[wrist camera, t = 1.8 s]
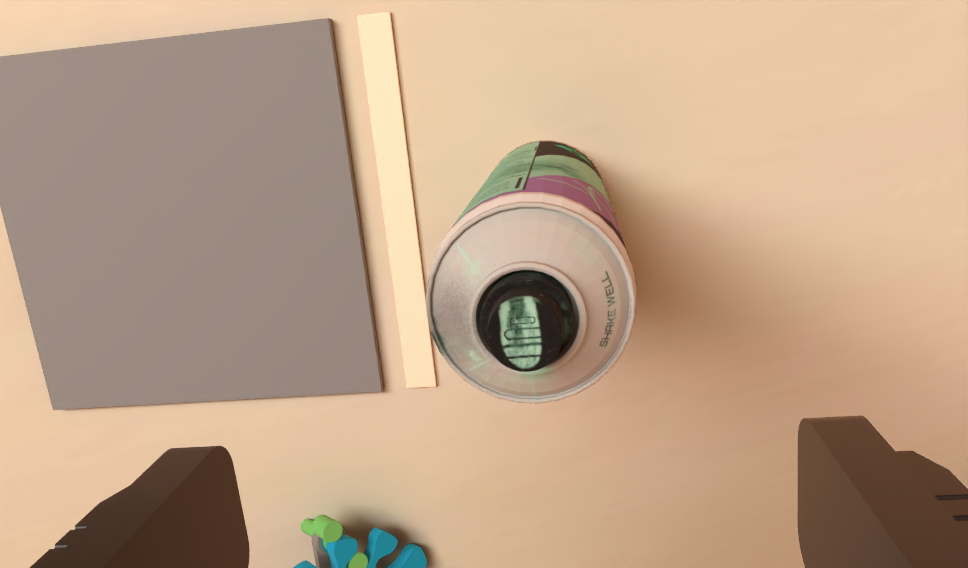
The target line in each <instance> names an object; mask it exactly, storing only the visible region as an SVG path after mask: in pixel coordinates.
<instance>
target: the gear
mask: <svg viewBox="0 0 968 568" xmlns="http://www.w3.org/2000/svg"><path fill="white" fill-rule="evenodd" d="M301 530H302V531H303V532H305V533H306V534H308V535H310V536H311V537H312V545H313V551H314V556H315V562H316V566H314V565H313V564H311V563H310V562H308V561H303V562H301V563H299V564H298V565H296V566H295V567H294V568H316V567H317V568H376V564H377V562H378V560H379V559H380V558H382V557H384V556H386V555H388V554H390V553H392V552H393V551H394V549H395V548H396V546H397V542H398V540H397V539H396V538H395V537H394V536H393V535H391V534H389V533H387V532H385V531H383V530H381V529H379V528H376V527H375V528H373V529H372V530H371V532H370V534H369V536H368V543H367V548H366V551H365V553H364V554H363V553H361V552H359V551H358V550H357V547H358V544H357V540H356V539H354V538H352V537H350V536H348V535H347V534H346V531H345V529H344V528H343V527H342V525H341V524H340V523H339V522H337V521H336V520H334V519H332V518H330V517H328V516H326V515H320V516H318V517H316V518H315V520H314V521H313V520H311V519H305V520H304V521H303V522H302V524H301ZM426 565H427V560H426V556H425V554H424V552H423V551H422V549H421V547H419V546H417V545H415V544H413V543H410V544H408V545H406V546H405V547H404V548H403V549H402V551H401V553H400V555H399V556H398V557H397V559H396V560H395V561H394V562H393V563H392V564H390V565H389V566H388V567H386V568H425V567H426Z"/></svg>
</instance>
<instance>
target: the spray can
mask: <svg viewBox="0 0 968 568" xmlns="http://www.w3.org/2000/svg"><path fill="white" fill-rule="evenodd" d="M636 296H637V288H636V282H635V276H634V270H633V267H632V264H631V261H630V259H629V256H628V253H627V250H626V247H625V244H624V242H623V239H622V236H621V233H620V230H619V228H618V225H617V222H616V219H615V216H614V213H613V211H612V208H611V205H610V202H609V199H608V196H607V194H606V191H605V188H604V185H603V182H602V180H601V177H600V175H599V172H598V171H597V169H596V168H595V166H594V165H593V163H592V162H591V161H590V160H589V159H588V158H587V157H586V156H585V155H584V154H583V153H582V152H580V151H579V150H577V149H576V148H574V147H572V146H570V145H567V144H565V143H562V142H557V141H535V142H530V143H527V144H525V145H523V146H520V147H518V148H516V149H515V150H513V151H512V152H510V153H509V154H507V155H506V156H505V157H504V158H503V159H502V160H501V161H500V163H499V164H498V165H497V167H496V168H495V169H494V171H493V172H492V173H491V175H490V176H489V178H488V179H487V180H486V182H485V183H484V184H483V186H482V187H481V188H480V190H479V191H478V193H477V194H476V195H475V197H474V198H473V199H472V201H471V202H470V204H469V205H468V206H467V208H466V209H465V210H464V212H463V213H462V214H461V216H460V217H459V219H458V220H457V221H456V223H455V224H454V225H453V227H452V228H451V229H450V231H449V232H448V234H447V235H446V237H445V238H444V240H443V241H442V243H441V245H440V246H439V248H438V250H437V252H436V255H435V257H434V260H433V262H432V265H431V268H430V273H429V279H428V285H427V292H426V310H427V318H428V322H429V326H430V331H431V334H432V336H433V338H434V341H435V343H436V345H437V347H438V349H439V351H440V353H441V354H442V356H443V357H444V358H445V360H446V361H447V363H448V364H449V365H450V367H451V368H452V369H453V370H454V371H456V372H457V373H458V374H459V375H460V376H461V377H462V378H463V379H464V380H465V381H467V382H468V383H470V384H471V385H473V386H474V387H476V388H477V389H479V390H480V391H482V392H485V393H487V394H490V395H492V396H494V397H497V398H499V399H504V400H508V401H513V402H518V403H544V402H551V401H557V400H561V399H564V398H566V397H569V396H572V395H575V394H578V393H579V392H581V391H583V390H584V389H586V388H588V387H590V386H591V385H593V384H595V383H596V382H597V381H598V380H599V379H600V378H601V377H603V376H604V375H605V374H606V373H607V372H608V371H609V370H610V369H611V368H612V366H613V365H614V364H615V362H616V361H617V360H618V359H619V357H620V356H621V354H622V352H623V350H624V348H625V346H626V344H627V342H628V340H629V338H630V334H631V330H632V326H633V322H634V317H635V311H636Z"/></svg>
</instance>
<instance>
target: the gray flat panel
mask: <svg viewBox="0 0 968 568" xmlns="http://www.w3.org/2000/svg"><path fill="white" fill-rule="evenodd" d="M357 20H358V28H359V35H360V43H361V50H362V58H363V65H364V73H365V80H366V87H367V95H368V102H369V110H370V117H371V125H372V132H373V140H374V147H375V154H376V162H377V169H378V177H379V184H380V192H381V199H382V207H383V214H384V221H385V229H386V236H387V244H388V251H389V259H390V266H391V274H392V281H393V288H394V296H395V303H396V311H397V318H398V326H399V333H400V341H401V348H402V355H403V363H404V370H405V378H406V385H407V388H416V387H434V386H436V376H435V368H434V360H433V352H432V344H431V336H430V328H429V322H428V318H427V310H426V296H425V288H424V280H423V272H422V263H421V255H420V247H419V239H418V231H417V223H416V215H415V207H414V199H413V191H412V183H411V175H410V167H409V159H408V150H407V142H406V134H405V126H404V118H403V110H402V102H401V94H400V86H399V78H398V70H397V62H396V54H395V46H394V37H393V29H392V21H391V13H390V12H384V13H376V14H367V15H359V16H357ZM0 207H1V211H2V214H3V218H4V222H5V226H6V230H7V234H8V238H9V241H10V245H11V249H12V253H13V257H14V261H15V265H16V268H17V272H18V276H19V280H20V284H21V288H22V292H23V295H24V299H25V303H26V307H27V311H28V315H29V319H30V323H31V326H32V330H33V334H34V338H35V342H36V346H37V350H38V353H39V357H40V361H41V365H42V369H43V373H44V377H45V380H46V384H47V388H48V392H49V396H50V400H51V404H52V407H53V410H62V409H80V408H98V407H116V406H134V405H152V404H170V403H188V402H206V401H224V400H241V399H259V398H277V397H295V396H313V395H331V394H349V393H367V392H382V390H383V388H384V386H383V379H382V372H381V365H380V358H379V351H378V344H377V337H376V330H375V323H374V316H373V309H372V302H371V295H370V288H369V281H368V274H367V267H366V260H365V253H364V246H363V239H362V232H361V224H360V217H359V210H358V203H357V196H356V189H355V182H354V175H353V168H352V161H351V154H350V147H349V140H348V133H347V126H346V119H345V112H344V105H343V98H342V91H341V84H340V77H339V70H338V63H337V56H336V49H335V42H334V35H333V28H332V21H331V19H329V18H327V19H318V20H310V21H301V22H293V23H284V24H276V25H267V26H259V27H250V28H241V29H233V30H224V31H216V32H207V33H199V34H190V35H182V36H173V37H164V38H156V39H147V40H139V41H130V42H122V43H113V44H104V45H96V46H87V47H79V48H70V49H62V50H53V51H45V52H36V53H27V54H19V55H10V56H2V57H0Z"/></svg>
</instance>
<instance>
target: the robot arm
mask: <svg viewBox="0 0 968 568" xmlns="http://www.w3.org/2000/svg"><path fill="white" fill-rule="evenodd" d="M798 535H799V542H800V548H801V553H802V557H803V561H804V565H805V568H968V489H967V488H966V487H965V486H964V485H963V484H962V483H961V482H960V481H959V480H958V479H957V478H956V477H955V476H954V475H953V474H952V473H951V472H950V471H949V470H948V469H946V468H944V467H942V466H940V465H938V464H936V463H934V462H933V461H931V460H929V459H927V458H925V457H923V456H921V455H919V454H917V453H915V452H914V451H897V452H895V451H894V449H893V448H892V447H891V446H890V445H889V444H888V443H887V441H886V440H885V439H884V438H883V437H882V436H881V435H880V433H879V432H878V431H877V430H876V429H875V428H874V427H873V426H872V424H871V423H870V422H869V421H868V420H867V419H866V418H865V417H863V416H845V417H825V418H804V419H802V420H801V422H800V425H799V430H798ZM248 564H249V541H248V535H247V530H246V525H245V520H244V515H243V510H242V506H241V501H240V496H239V491H238V486H237V481H236V476H235V471H234V466H233V462H232V458H231V456H230V454H229V452H228V451H227V449H226V448H224V447H222V446H210V447H190V448H171V449H169V450H167V451H166V452H165V453H164V454H163V455H162V456H161V457H160V458H159V459H157V460H156V461H155V462H154V463H153V464H152V465H151V466H150V467H149V468H148V469H147V470H146V471H145V472H144V473H143V474H142V475H141V476H140V477H139V478H138V479H137V480H135V481H134V482H133V483H132V484H131V485H130V486H128V487H127V488H125V489H123V490H121V491H120V492H118V493H116V494H114V495H113V496H111V497H109V498H108V499H106V500H104V501H102V502H101V503H99V504H98V505H97V506H96V507H95V508H94V509H93V510H92V511H90V512H89V513H88V514H87V515H86V516H85V517H84V518H83V519H82V520H81V521H80V522H79V523H78V524H76V525H75V530H70V531H69V532H68V533H67V534H66V535H65V536H64V537H62V538H61V539H60V540H59V541H58V542H57V543H56V544H55V549H50V550H48V551H47V552H46V553H45V554H44V555H43V556H42V557H41V558H40V559H39V560H38V561H37V562H36V563H34V564H33V565H32V566H31V567H30V568H248Z"/></svg>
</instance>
